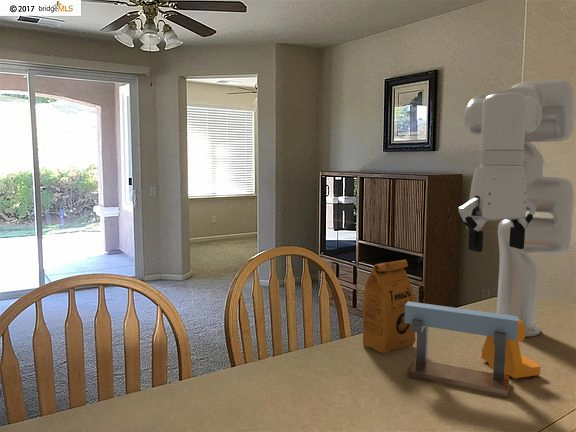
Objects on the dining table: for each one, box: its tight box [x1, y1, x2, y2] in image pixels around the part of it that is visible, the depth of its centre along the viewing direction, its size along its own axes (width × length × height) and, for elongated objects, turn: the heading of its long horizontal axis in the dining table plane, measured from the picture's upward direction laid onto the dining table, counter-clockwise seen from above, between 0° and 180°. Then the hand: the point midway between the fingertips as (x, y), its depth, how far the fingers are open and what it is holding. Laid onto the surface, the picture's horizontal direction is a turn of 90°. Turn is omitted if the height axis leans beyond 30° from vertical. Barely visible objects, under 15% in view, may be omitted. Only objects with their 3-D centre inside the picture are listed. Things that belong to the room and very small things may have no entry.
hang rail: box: [404, 301, 518, 341], centre depth 100 cm, size 3×22×4 cm, turn 63°
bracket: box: [480, 318, 542, 379], centre depth 108 cm, size 11×7×12 cm, turn 16°
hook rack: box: [406, 319, 510, 399], centre depth 102 cm, size 8×20×15 cm, turn 63°
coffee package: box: [362, 259, 417, 354], centre depth 120 cm, size 10×12×22 cm
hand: (496, 249), depth 93 cm, fingers open, 9 cm apart
